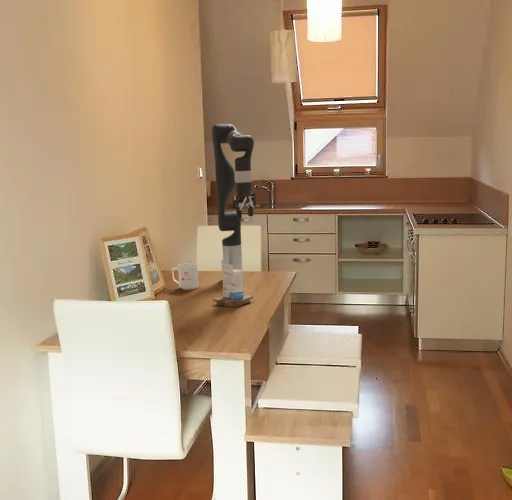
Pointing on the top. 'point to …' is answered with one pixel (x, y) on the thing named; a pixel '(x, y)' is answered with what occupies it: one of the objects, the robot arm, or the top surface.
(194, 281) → the mug
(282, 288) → the top surface
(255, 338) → the top surface
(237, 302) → the stand
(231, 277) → the ink box
